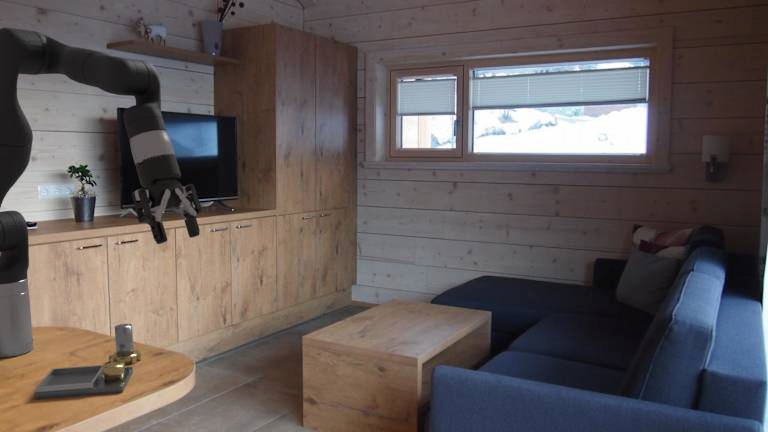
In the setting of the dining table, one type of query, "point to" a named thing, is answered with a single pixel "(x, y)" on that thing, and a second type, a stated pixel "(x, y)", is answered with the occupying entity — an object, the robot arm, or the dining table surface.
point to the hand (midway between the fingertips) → (179, 239)
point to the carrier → (84, 381)
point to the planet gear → (124, 346)
